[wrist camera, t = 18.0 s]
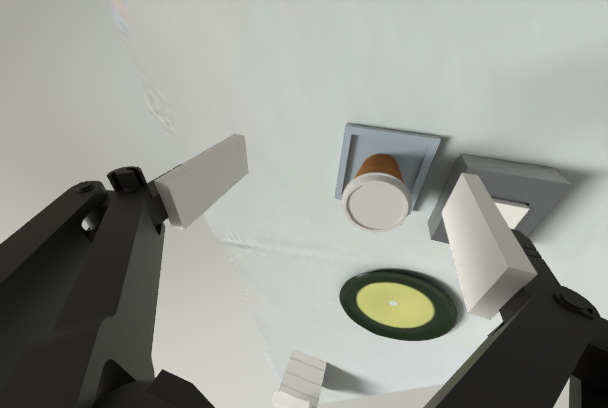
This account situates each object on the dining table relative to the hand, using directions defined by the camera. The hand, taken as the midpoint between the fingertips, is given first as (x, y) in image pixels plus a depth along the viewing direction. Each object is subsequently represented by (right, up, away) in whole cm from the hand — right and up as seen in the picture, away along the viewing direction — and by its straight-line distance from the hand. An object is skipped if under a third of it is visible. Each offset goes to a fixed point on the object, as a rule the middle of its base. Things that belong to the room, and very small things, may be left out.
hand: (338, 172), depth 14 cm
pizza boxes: (0, -75, +88) cm, 116 cm away
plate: (+22, -28, +47) cm, 58 cm away
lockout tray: (+12, +4, +27) cm, 30 cm away
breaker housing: (+28, -1, +24) cm, 37 cm away
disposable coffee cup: (+11, +4, +27) cm, 29 cm away
